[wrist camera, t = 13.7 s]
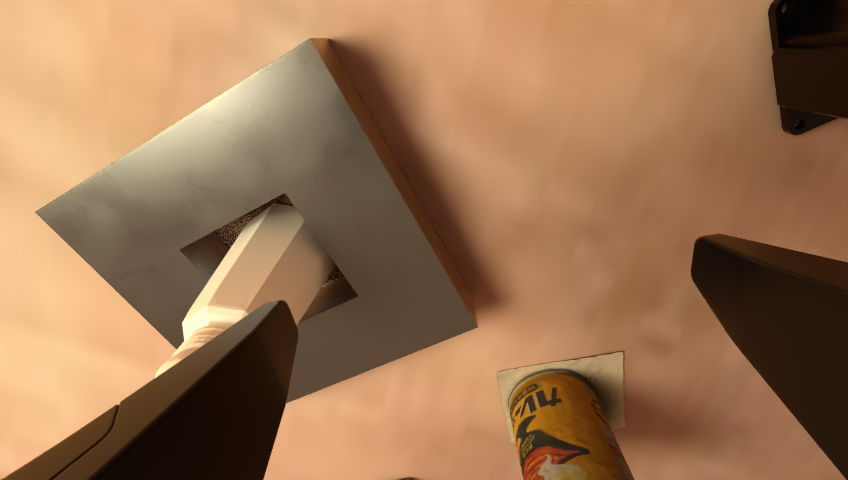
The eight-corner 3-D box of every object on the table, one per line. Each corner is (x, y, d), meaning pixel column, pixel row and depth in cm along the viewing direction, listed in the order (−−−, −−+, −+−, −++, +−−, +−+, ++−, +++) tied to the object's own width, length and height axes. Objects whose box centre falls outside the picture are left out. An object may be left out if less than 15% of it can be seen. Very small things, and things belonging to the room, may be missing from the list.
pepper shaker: (229, 211, 22) (72, 347, 13) (321, 192, 22) (233, 318, 12) (267, 291, 25) (160, 457, 15) (351, 275, 24) (298, 437, 14)
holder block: (327, 38, 18) (310, 38, 16) (472, 295, 25) (477, 327, 22) (83, 190, 22) (34, 212, 19) (265, 382, 28) (247, 418, 25)
